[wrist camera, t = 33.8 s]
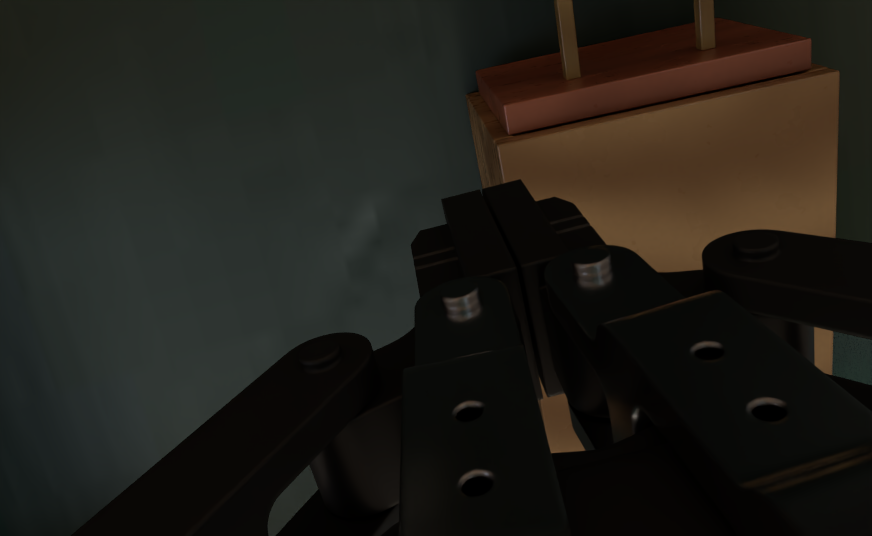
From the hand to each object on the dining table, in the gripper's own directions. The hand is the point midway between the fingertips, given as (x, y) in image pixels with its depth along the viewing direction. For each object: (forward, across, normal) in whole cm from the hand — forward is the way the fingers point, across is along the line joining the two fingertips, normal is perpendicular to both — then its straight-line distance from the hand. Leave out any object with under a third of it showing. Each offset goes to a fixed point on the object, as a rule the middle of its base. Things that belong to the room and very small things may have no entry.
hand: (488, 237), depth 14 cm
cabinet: (+24, -9, +11) cm, 28 cm away
